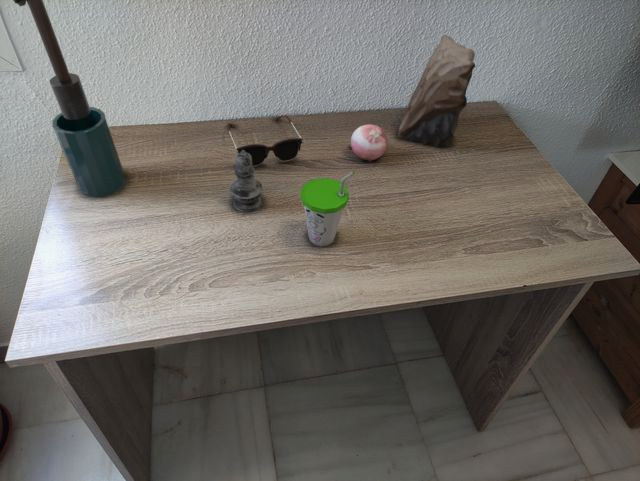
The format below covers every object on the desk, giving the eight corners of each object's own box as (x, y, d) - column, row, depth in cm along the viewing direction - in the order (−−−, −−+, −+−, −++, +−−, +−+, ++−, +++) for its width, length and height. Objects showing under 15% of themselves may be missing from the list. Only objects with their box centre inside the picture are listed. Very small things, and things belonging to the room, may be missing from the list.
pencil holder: (80, 201, 87) (52, 137, 76) (78, 174, 92) (52, 110, 82) (127, 192, 89) (106, 128, 79) (123, 166, 94) (103, 103, 84)
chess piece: (257, 189, 91) (253, 136, 82) (268, 208, 88) (265, 155, 79) (227, 196, 89) (221, 144, 80) (237, 216, 86) (231, 163, 77)
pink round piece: (358, 169, 97) (362, 140, 92) (342, 148, 102) (344, 119, 96) (391, 161, 99) (397, 132, 94) (374, 141, 104) (378, 112, 99)
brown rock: (416, 112, 113) (435, 28, 99) (466, 130, 109) (493, 44, 94) (394, 137, 106) (411, 49, 91) (447, 156, 101) (473, 68, 87)
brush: (62, 121, 77) (3, -25, 61) (62, 108, 80) (5, -36, 64) (91, 117, 78) (40, -28, 62) (90, 104, 81) (41, -38, 65)
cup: (290, 240, 82) (290, 172, 71) (316, 216, 87) (319, 148, 76) (327, 260, 79) (333, 193, 68) (351, 234, 84) (361, 166, 73)
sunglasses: (238, 169, 95) (236, 148, 92) (224, 130, 106) (221, 110, 103) (303, 159, 98) (303, 138, 95) (283, 122, 109) (282, 102, 106)
